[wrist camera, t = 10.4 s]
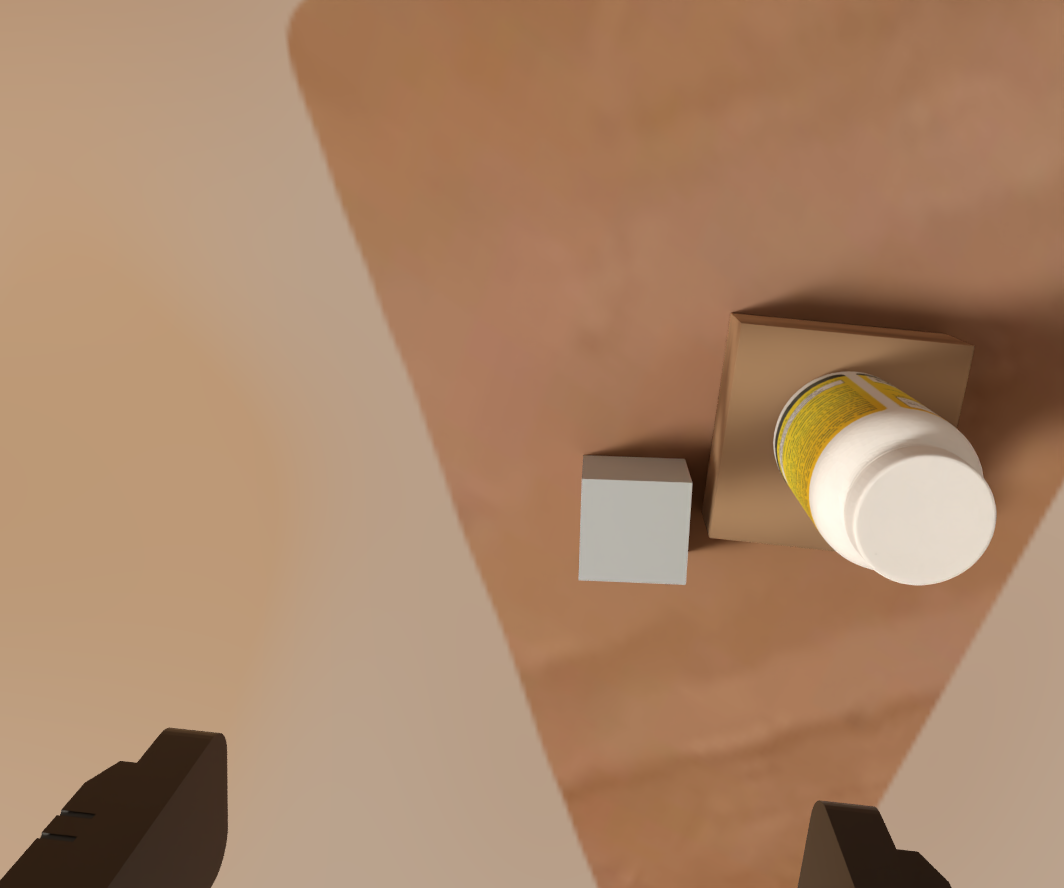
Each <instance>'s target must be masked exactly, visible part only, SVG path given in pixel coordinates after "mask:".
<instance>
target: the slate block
mask: <svg viewBox="0 0 1064 888" xmlns="http://www.w3.org/2000/svg"><path fill="white" fill-rule="evenodd" d="M691 497H692V480H691V477H690V473H689V470H688V467H687V464H686V461H685V459H677V458H648V457H620V456H591V455H583V469H582V492H581V524H580V555H579V580H587V581H610V582H634V583H657V584H680V585H686V574H687V558H688V543H689V528H690V512H691Z"/></svg>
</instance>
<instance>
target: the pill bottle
mask: <svg viewBox="0 0 1064 888" xmlns="http://www.w3.org/2000/svg"><path fill="white" fill-rule="evenodd" d="M773 446H774V455H775V459H776V463H777V465H778V468H779V470H780V472H781V474H782V476H783V478H784V480H785V482H786V483H787V485H788V486H789V487H790V489H791V490H792V492H793V493H794V495H795V496H796V498H797V499H798V501H799V502H800V504H801V505H802V507H803V508H804V510H805V511H806V513H807V514H808V516H809V517H810V519H811V520H812V522H813V523H814V525H815V527H816V528H817V530H818V531H819V533H820V534H821V535H822V537H823V538H824V539H825V541H826V542H827V543H828V544H829V545H830V546H831V547H832V548H833V549H834V550H835V551H836V552H837V553H839V554H840V555H841V556H843V557H844V558H846V559H847V560H849V561H851V562H853V563H855V564H857V565H860V566H862V567H865V568H868V569H872V570H875V571H876V572H877V573H879V574H881V575H882V576H884V577H886V578H888V579H890V580H892V581H895V582H899V583H902V584H909V585H929V584H935V583H940V582H943V581H946V580H949V579H951V578H953V577H956V576H958V575H959V574H961V573H963V572H964V571H966V570H967V569H968V568H970V567H971V566H972V565H973V564H974V563H975V562H976V561H977V560H978V559H979V558H980V557H981V555H982V554H983V553H984V552H985V550H986V548H987V547H988V545H989V543H990V541H991V539H992V536H993V533H994V529H995V525H996V504H995V500H994V496H993V493H992V491H991V489H990V487H989V485H988V483H987V482H986V481H985V479H984V477H983V471H982V466H981V464H980V461H979V458H978V456H977V454H976V452H975V450H974V448H973V447H972V445H971V444H970V442H969V441H968V440H967V438H966V437H965V436H964V435H963V434H962V433H961V432H960V431H959V430H958V429H956V428H955V427H954V426H953V425H952V424H950V423H949V422H948V421H946V420H945V419H943V418H942V417H940V416H939V415H937V414H936V413H934V412H933V411H931V410H930V409H928V408H927V407H925V406H924V405H922V404H921V403H919V402H918V401H916V400H915V399H913V398H912V397H910V396H909V395H907V394H906V393H904V392H902V391H901V390H899V389H898V388H896V387H895V386H893V385H891V384H890V383H888V382H886V381H884V380H882V379H880V378H878V377H876V376H873V375H870V374H866V373H861V372H851V371H847V372H837V373H831V374H827V375H824V376H821V377H819V378H817V379H814V380H812V381H811V382H809V383H807V384H806V385H804V386H803V387H802V388H801V389H799V390H798V391H797V392H796V393H795V394H794V395H793V396H792V397H791V398H790V400H789V401H788V402H787V403H786V405H785V406H784V408H783V410H782V412H781V414H780V416H779V418H778V421H777V424H776V427H775V432H774V441H773Z"/></svg>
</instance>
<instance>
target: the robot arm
mask: <svg viewBox="0 0 1064 888" xmlns="http://www.w3.org/2000/svg"><path fill="white" fill-rule="evenodd" d="M227 806H228V804H227V744H226V740H225V737H224V735H223V734H222V733H213V732H204V731H195V730H186V729H176V728H167V729H165V730H164V731H163V732H162V733H161V734H160V735H159V736H158V737H157V739H156V740H155V741H154V742H153V744H152V745H151V746H150V748H149V749H148V750H147V751H146V752H145V754H144V755H143V756H142V757H141V759H140V760H139V761H138V762H137V763H133V762H124V761H120V762H118V763H117V764H115V765H113V766H111V767H110V768H108V769H106V770H105V771H103V772H102V773H100V774H98V775H97V776H95V777H94V778H92V779H90V780H89V781H87V782H85V783H84V784H83V786H82V787H81V788H80V789H79V790H78V791H77V792H76V794H75V795H74V796H73V797H72V798H71V800H70V801H69V802H68V803H67V804H66V805H65V806H64V808H63V809H62V810H61V814H60V816H58V815H57V816H56V817H55V818H54V819H53V820H52V821H51V823H50V824H49V825H48V826H47V827H46V828H45V829H44V831H43V832H42V836H41V838H40V839H39V838H37V839H36V840H35V841H34V842H33V843H32V844H31V846H30V847H29V848H28V849H27V850H26V851H25V852H24V854H23V855H22V856H21V857H20V858H19V859H18V861H17V862H16V863H15V864H14V865H13V866H12V868H11V869H10V870H9V871H8V872H7V873H6V874H5V876H4V877H3V878H2V879H1V880H0V888H211V886H212V885H213V883H214V881H215V879H216V877H217V875H218V872H219V869H220V866H221V864H222V860H223V856H224V852H225V847H226V841H227V833H228V832H227V831H228V809H227V808H228V807H227ZM798 888H951V886H950V884H949V882H948V881H947V880H946V879H945V878H944V877H943V876H942V875H941V874H940V873H939V872H938V871H937V870H936V869H935V868H934V867H933V866H932V865H931V864H930V863H929V862H928V861H927V860H926V859H925V858H924V857H923V856H922V855H921V854H920V853H919V852H915V851H906V850H897V849H896V848H895V845H894V843H893V841H892V839H891V836H890V834H889V832H888V830H887V827H886V825H885V823H884V821H883V819H882V817H881V814H880V812H879V811H878V809H877V808H876V807H873V806H864V805H855V804H846V803H837V802H828V801H817V802H816V803H815V805H814V807H813V810H812V813H811V818H810V823H809V829H808V834H807V840H806V845H805V851H804V856H803V862H802V867H801V872H800V878H799V883H798Z"/></svg>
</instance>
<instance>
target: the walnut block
mask: <svg viewBox="0 0 1064 888" xmlns="http://www.w3.org/2000/svg"><path fill="white" fill-rule="evenodd" d="M974 348H975V346H974V345H971V344H969V343H967V342H964V341H962V340H959V339H957V338H955V337H952V336H950V335H948V334H943V333H932V332H922V331H912V330H901V329H891V328H881V327H870V326H860V325H850V324H840V323H829V322H819V321H809V320H798V319H788V318H778V317H767V316H757V315H747V314H736V313H731V314H730V321H729V328H728V335H727V342H726V349H725V355H724V362H723V369H722V376H721V383H720V390H719V397H718V404H717V410H716V417H715V424H714V431H713V438H712V445H711V452H710V459H709V466H708V472H707V479H706V486H705V493H704V500H703V507H702V515H703V519H704V522H705V525H706V528H707V531H708V535H709V538H716V539H725V540H734V541H744V542H753V543H762V544H772V545H781V546H790V547H799V548H809V549H818V550H827V551H835V550H834V549H833V548H832V547H831V546H830V545H829V544H828V543H827V542H826V541H825V539H824V538H823V537H822V535H821V534H820V533H819V531H818V530H817V528H816V527H815V525H814V523H813V522H812V520H811V519H810V517H809V516H808V514H807V513H806V511H805V510H804V508H803V507H802V505H801V504H800V502H799V501H798V499H797V498H796V496H795V495H794V493H793V492H792V490H791V489H790V487H789V486H788V485H787V483H786V482H785V480H784V478H783V476H782V474H781V472H780V470H779V468H778V465H777V463H776V459H775V455H774V446H773V441H774V432H775V427H776V424H777V421H778V418H779V416H780V414H781V412H782V410H783V408H784V406H785V405H786V403H787V402H788V401H789V400H790V398H791V397H792V396H793V395H794V394H795V393H796V392H797V391H798V390H799V389H801V388H802V387H803V386H804V385H806V384H807V383H809V382H811V381H812V380H814V379H817V378H819V377H821V376H824V375H827V374H831V373H837V372H847V371H851V372H861V373H866V374H870V375H873V376H876V377H878V378H880V379H882V380H884V381H886V382H888V383H890V384H891V385H893V386H895V387H896V388H898V389H899V390H901V391H902V392H904V393H906V394H907V395H909V396H910V397H912V398H913V399H915V400H916V401H918V402H919V403H921V404H922V405H924V406H925V407H927V408H928V409H930V410H931V411H933V412H934V413H936V414H937V415H939V416H940V417H942V418H943V419H945V420H946V421H948V422H949V423H950V424H952V425H953V426H954V427H955V428H956V429H957V426H958V421H959V417H960V412H961V408H962V403H963V398H964V394H965V389H966V385H967V380H968V376H969V371H970V366H971V362H972V357H973V353H974Z"/></svg>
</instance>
